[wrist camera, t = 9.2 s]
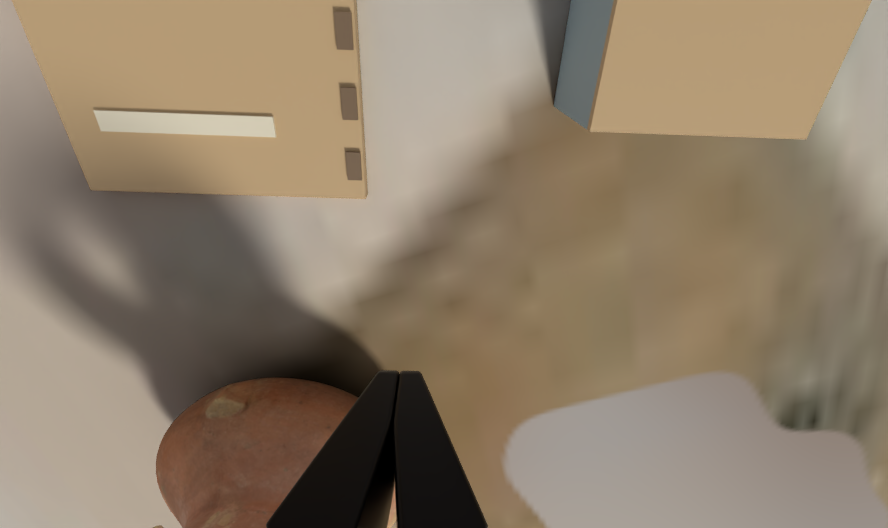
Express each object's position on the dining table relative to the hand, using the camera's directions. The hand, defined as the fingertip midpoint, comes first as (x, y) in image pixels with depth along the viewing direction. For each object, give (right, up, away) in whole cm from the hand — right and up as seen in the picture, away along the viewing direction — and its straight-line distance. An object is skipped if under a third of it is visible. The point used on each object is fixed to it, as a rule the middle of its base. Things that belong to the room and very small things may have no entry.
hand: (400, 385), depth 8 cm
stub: (+9, +11, +8) cm, 16 cm away
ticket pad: (-8, +11, +7) cm, 16 cm away
